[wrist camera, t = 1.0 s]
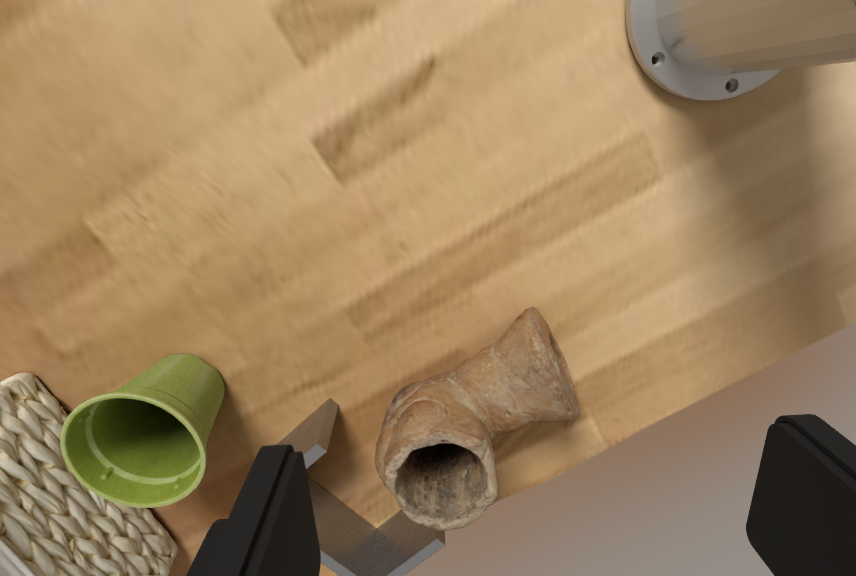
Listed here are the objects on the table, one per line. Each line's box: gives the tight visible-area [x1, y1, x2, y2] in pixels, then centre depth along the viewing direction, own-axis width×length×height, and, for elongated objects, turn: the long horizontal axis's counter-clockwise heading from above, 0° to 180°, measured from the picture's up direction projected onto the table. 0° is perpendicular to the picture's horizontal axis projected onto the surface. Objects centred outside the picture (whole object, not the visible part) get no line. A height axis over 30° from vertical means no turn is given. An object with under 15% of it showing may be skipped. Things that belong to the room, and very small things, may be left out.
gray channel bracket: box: [277, 399, 445, 576], centre depth 42 cm, size 8×14×6 cm, turn 43°
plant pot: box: [60, 354, 225, 508], centre depth 37 cm, size 9×9×9 cm
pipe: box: [375, 307, 580, 531], centre depth 37 cm, size 9×16×10 cm, turn 126°
